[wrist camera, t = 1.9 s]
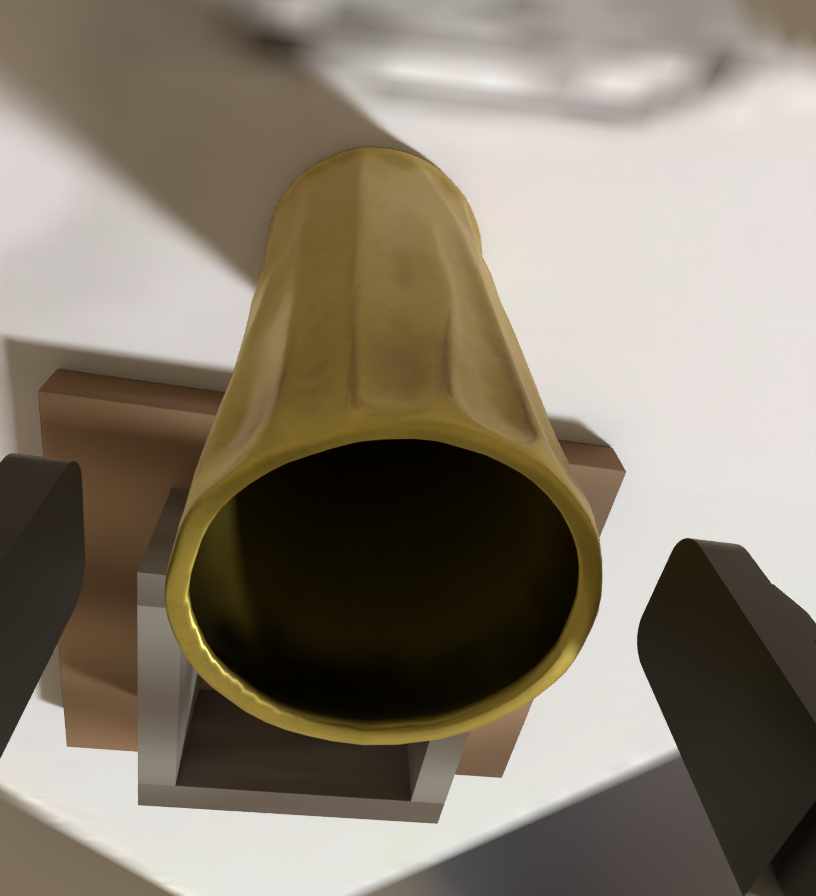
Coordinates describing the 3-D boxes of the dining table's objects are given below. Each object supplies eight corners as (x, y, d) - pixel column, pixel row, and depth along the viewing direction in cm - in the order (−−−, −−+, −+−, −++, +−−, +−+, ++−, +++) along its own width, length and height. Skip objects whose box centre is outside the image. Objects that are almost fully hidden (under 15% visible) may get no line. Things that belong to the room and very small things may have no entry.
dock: (57, 369, 22) (-27, 466, 17) (612, 447, 24) (671, 551, 20) (79, 715, 30) (26, 845, 25) (496, 747, 32) (518, 872, 28)
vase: (222, 235, 20) (3, 577, 8) (399, 94, 19) (465, 250, 6) (355, 392, 23) (344, 824, 11) (519, 280, 21) (727, 640, 9)
